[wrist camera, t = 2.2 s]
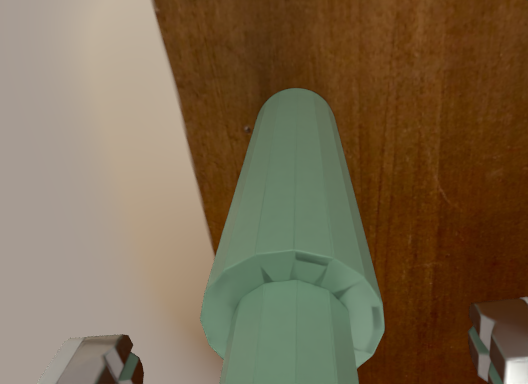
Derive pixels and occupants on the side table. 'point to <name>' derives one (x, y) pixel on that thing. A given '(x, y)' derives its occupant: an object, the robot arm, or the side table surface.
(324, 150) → the bottle
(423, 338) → the side table surface
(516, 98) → the side table surface
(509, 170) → the side table surface
